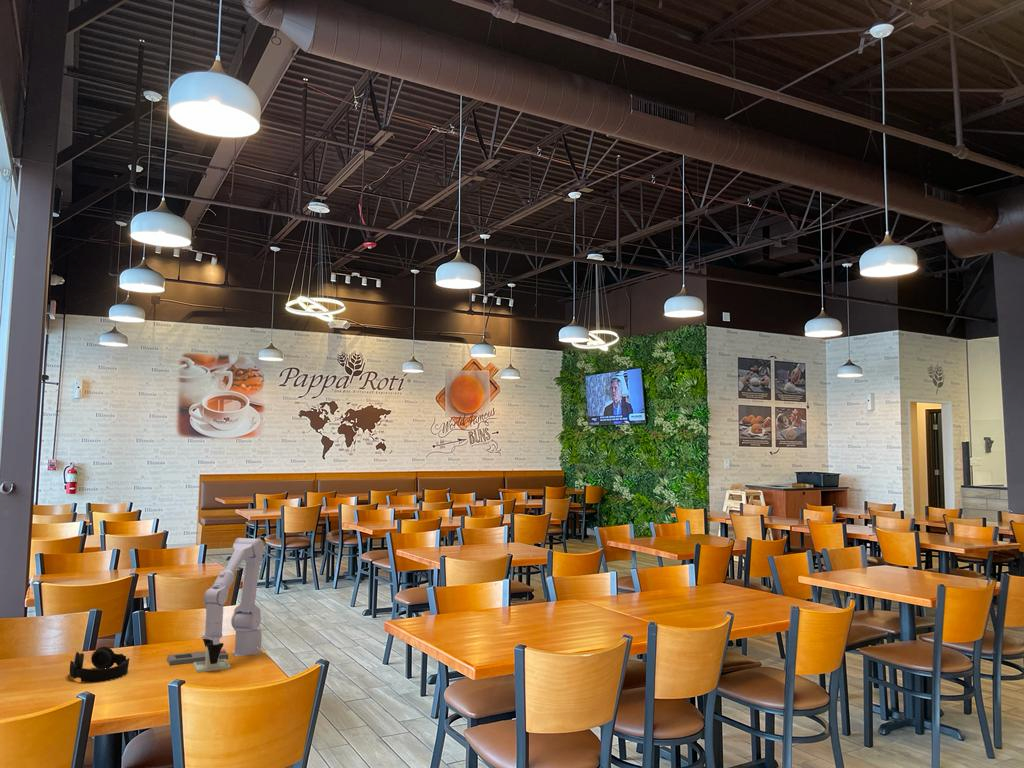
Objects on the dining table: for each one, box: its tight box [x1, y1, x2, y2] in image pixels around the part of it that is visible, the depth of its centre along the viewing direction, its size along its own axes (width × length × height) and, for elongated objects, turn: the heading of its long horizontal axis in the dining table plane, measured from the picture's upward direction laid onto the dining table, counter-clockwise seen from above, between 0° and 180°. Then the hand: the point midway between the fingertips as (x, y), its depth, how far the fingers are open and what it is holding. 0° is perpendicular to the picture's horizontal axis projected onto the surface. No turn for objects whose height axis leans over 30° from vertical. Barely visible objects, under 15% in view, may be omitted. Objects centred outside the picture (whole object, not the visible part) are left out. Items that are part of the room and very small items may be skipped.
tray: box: [192, 659, 232, 673], centre depth 267 cm, size 11×11×1 cm
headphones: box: [69, 646, 130, 683], centre depth 257 cm, size 18×8×20 cm
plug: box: [205, 641, 219, 668], centre depth 267 cm, size 4×4×9 cm
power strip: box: [167, 639, 229, 666], centre depth 277 cm, size 20×9×9 cm, turn 120°
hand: (211, 661), depth 267 cm, fingers open, 7 cm apart
